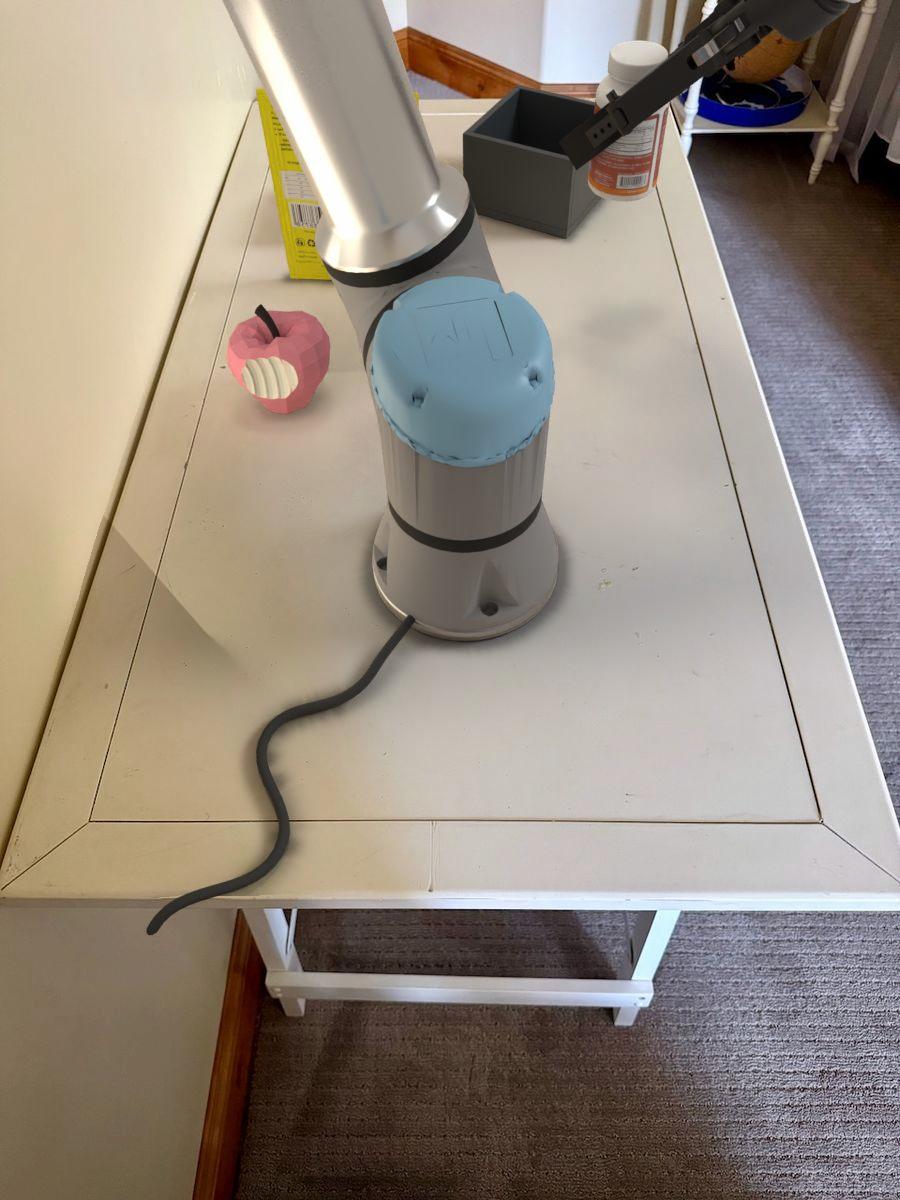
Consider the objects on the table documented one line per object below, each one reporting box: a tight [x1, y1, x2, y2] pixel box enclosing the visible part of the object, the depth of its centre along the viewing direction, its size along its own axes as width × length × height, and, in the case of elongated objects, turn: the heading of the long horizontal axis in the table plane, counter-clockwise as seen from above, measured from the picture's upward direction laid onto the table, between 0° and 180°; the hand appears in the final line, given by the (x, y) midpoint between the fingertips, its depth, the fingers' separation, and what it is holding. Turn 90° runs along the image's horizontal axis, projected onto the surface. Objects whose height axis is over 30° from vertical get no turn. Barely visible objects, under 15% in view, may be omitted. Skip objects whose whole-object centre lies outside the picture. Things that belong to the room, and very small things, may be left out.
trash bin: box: [462, 84, 603, 239], centre depth 106 cm, size 14×14×9 cm
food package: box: [255, 88, 420, 281], centre depth 91 cm, size 15×1×20 cm, turn 84°
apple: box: [226, 303, 331, 415], centre depth 83 cm, size 10×9×10 cm
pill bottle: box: [588, 40, 671, 203], centre depth 76 cm, size 6×6×11 cm
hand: (589, 137), depth 79 cm, fingers closed on pill bottle, 6 cm apart
